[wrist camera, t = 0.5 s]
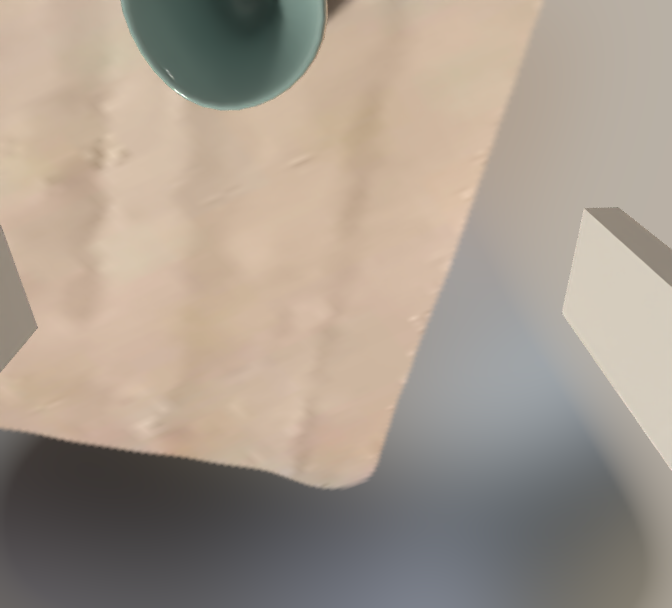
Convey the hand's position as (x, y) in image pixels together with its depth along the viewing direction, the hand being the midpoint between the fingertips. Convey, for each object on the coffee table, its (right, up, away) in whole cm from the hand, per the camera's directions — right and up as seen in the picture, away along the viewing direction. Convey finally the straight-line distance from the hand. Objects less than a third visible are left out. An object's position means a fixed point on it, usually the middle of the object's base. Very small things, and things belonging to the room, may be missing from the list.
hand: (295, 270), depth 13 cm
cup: (-3, +16, +17) cm, 23 cm away
